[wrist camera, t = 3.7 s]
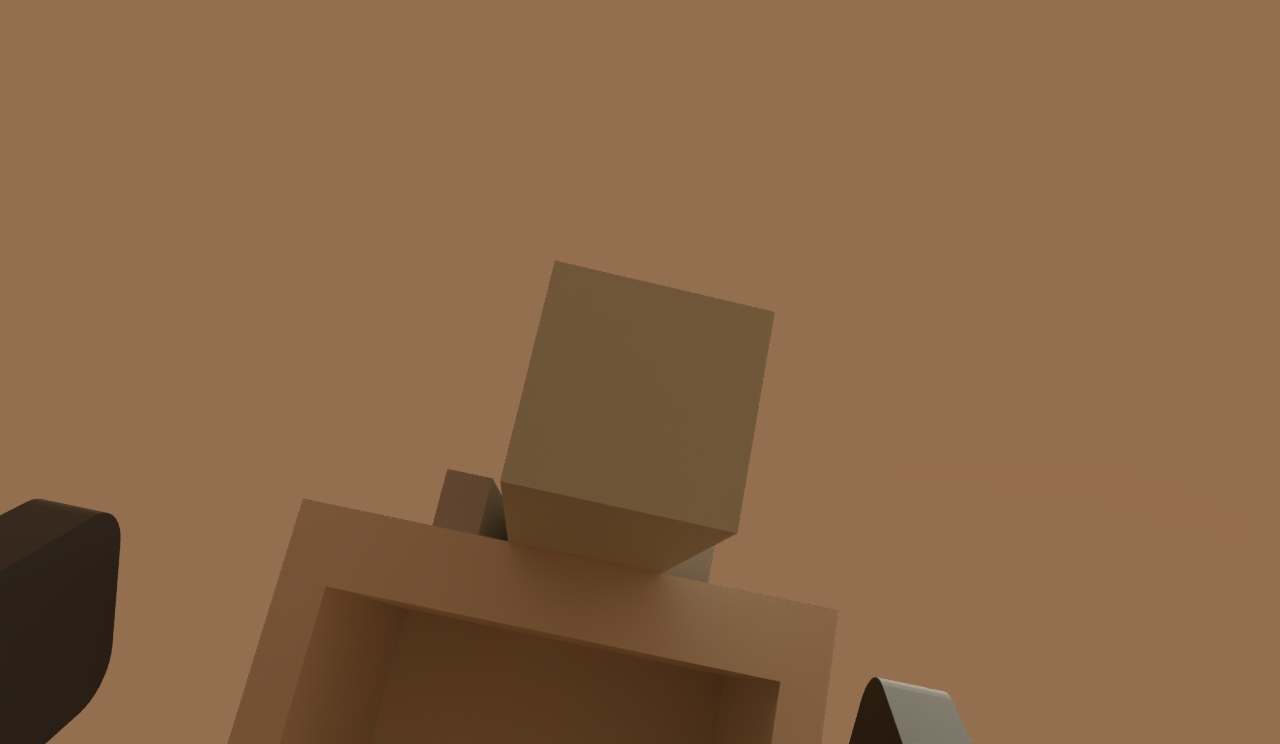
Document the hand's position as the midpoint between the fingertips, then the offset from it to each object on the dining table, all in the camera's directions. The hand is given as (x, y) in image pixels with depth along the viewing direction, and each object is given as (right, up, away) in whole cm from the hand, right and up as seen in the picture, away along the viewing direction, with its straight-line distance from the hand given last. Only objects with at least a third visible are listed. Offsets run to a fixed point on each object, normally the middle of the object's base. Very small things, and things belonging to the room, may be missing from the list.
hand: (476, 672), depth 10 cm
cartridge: (0, -2, +15) cm, 15 cm away
